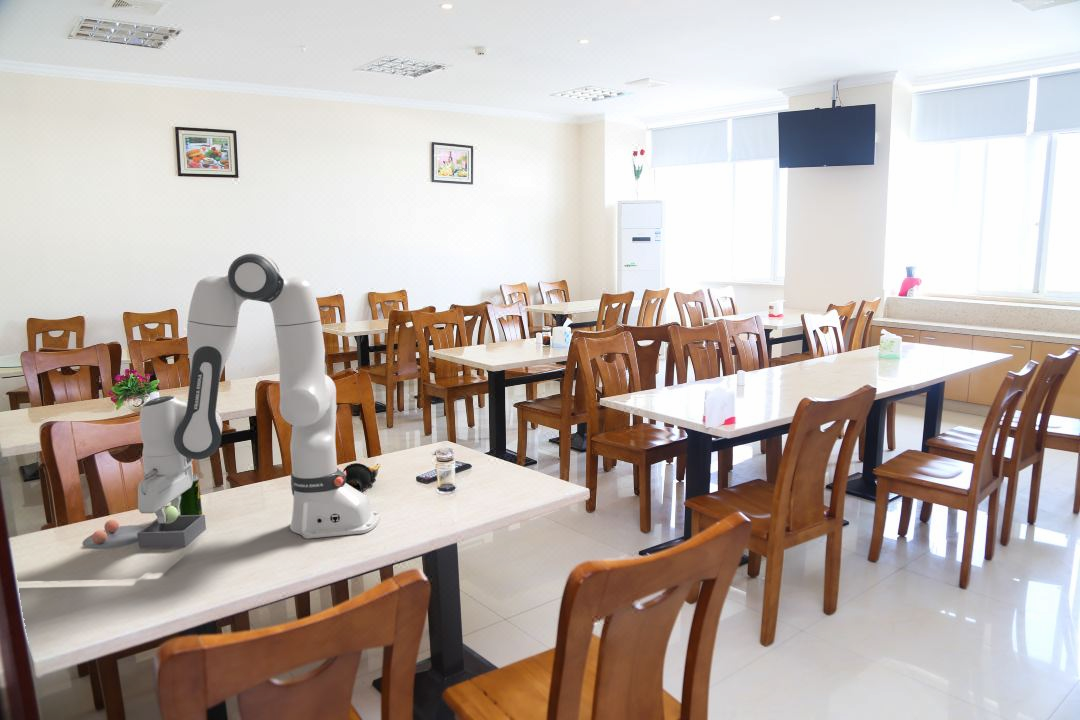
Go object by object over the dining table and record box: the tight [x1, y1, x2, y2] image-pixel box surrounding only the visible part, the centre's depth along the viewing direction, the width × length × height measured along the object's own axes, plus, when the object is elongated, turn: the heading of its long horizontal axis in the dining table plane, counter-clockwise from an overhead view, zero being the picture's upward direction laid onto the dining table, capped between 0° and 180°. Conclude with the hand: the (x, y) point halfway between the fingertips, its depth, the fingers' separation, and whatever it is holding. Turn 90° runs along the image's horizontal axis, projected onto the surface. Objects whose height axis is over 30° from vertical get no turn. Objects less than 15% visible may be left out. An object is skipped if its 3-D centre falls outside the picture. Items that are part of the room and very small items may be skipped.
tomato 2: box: [103, 519, 120, 533], centre depth 191 cm, size 3×3×3 cm
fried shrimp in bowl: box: [342, 462, 381, 492], centre depth 226 cm, size 9×11×18 cm
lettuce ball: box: [164, 504, 179, 524], centre depth 185 cm, size 4×4×4 cm
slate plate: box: [82, 524, 147, 550], centre depth 189 cm, size 15×15×1 cm
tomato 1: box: [91, 529, 107, 544], centre depth 184 cm, size 3×3×3 cm
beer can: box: [179, 472, 203, 516], centre depth 201 cm, size 5×5×12 cm
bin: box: [137, 514, 207, 549], centre depth 186 cm, size 11×11×5 cm
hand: (168, 517), depth 185 cm, fingers closed on lettuce ball, 4 cm apart
